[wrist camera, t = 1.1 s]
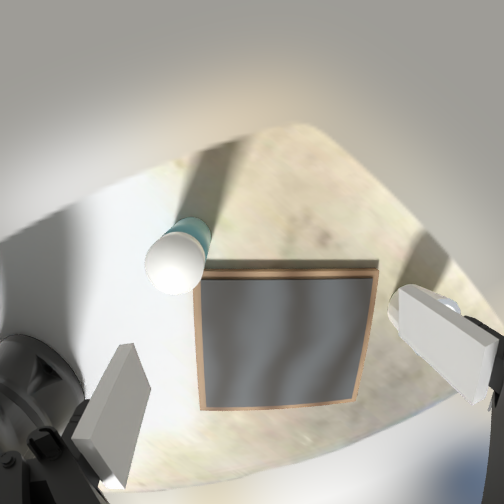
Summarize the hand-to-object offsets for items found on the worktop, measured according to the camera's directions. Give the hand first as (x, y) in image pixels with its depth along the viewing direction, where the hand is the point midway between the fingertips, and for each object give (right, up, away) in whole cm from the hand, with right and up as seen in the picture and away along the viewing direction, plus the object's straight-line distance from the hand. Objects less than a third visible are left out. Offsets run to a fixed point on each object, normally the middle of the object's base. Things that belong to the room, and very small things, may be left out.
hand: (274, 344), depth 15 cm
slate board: (+3, -6, +21) cm, 22 cm away
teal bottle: (-7, +6, +17) cm, 19 cm away
